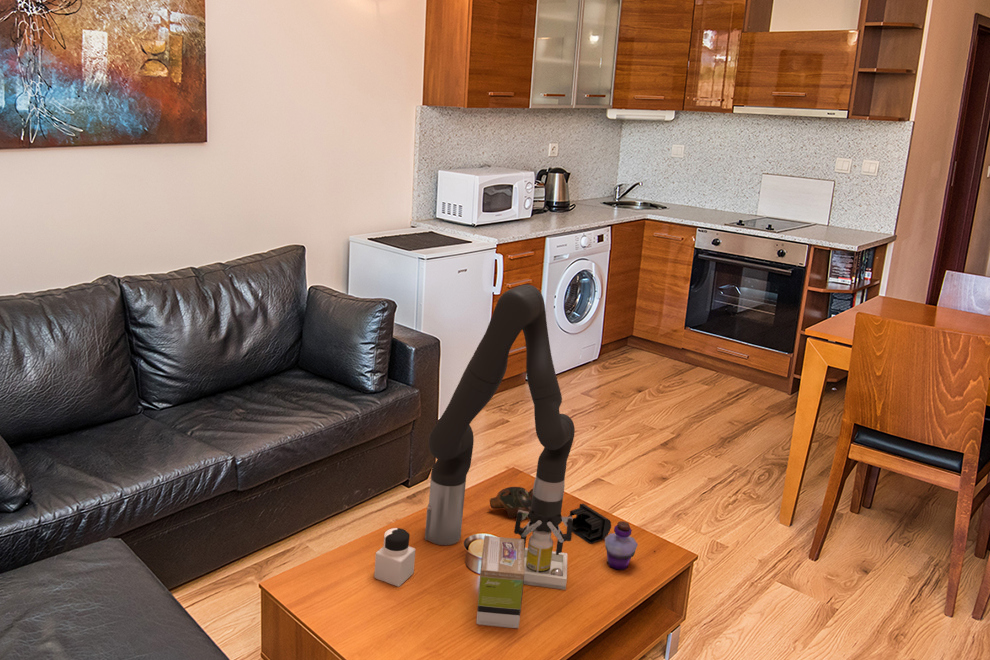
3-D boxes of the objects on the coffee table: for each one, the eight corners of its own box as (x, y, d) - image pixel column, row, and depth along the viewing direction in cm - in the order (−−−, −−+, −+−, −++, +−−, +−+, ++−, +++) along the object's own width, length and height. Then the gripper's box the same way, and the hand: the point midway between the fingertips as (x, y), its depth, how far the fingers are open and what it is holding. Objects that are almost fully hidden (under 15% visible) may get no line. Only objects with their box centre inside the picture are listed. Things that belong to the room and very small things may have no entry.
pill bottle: (550, 564, 215) (555, 525, 212) (549, 577, 209) (554, 538, 206) (526, 560, 215) (530, 522, 212) (524, 574, 209) (529, 534, 206)
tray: (508, 582, 207) (510, 571, 206) (512, 556, 218) (513, 546, 218) (565, 589, 206) (566, 579, 205) (565, 563, 218) (567, 553, 217)
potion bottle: (640, 569, 218) (647, 528, 215) (615, 576, 214) (621, 535, 210) (619, 552, 225) (625, 512, 222) (594, 559, 221) (600, 519, 217)
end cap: (609, 538, 232) (613, 516, 230) (591, 545, 228) (594, 523, 226) (584, 522, 239) (587, 501, 237) (566, 528, 235) (569, 507, 233)
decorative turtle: (545, 520, 238) (547, 496, 235) (493, 525, 235) (494, 500, 232) (536, 502, 247) (538, 478, 244) (486, 506, 244) (487, 482, 241)
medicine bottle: (414, 573, 207) (417, 530, 203) (398, 587, 200) (402, 543, 197) (389, 564, 209) (392, 521, 206) (373, 578, 203) (376, 534, 200)
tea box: (478, 587, 204) (484, 533, 200) (519, 591, 204) (526, 537, 199) (475, 625, 189) (480, 568, 185) (519, 630, 189) (526, 573, 185)
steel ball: (549, 581, 207) (551, 571, 206) (550, 575, 210) (551, 564, 209) (561, 583, 207) (563, 572, 206) (562, 576, 210) (563, 566, 209)
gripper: (518, 496, 203) (511, 555, 207) (577, 504, 202) (568, 563, 207) (520, 482, 210) (513, 539, 215) (577, 489, 209) (568, 547, 214)
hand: (540, 550), depth 211 cm, fingers open, 8 cm apart
